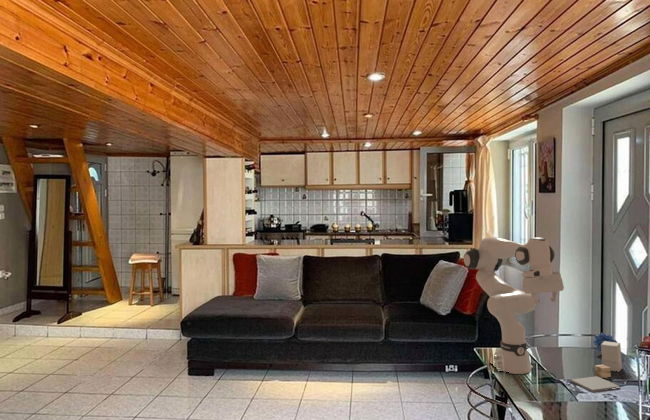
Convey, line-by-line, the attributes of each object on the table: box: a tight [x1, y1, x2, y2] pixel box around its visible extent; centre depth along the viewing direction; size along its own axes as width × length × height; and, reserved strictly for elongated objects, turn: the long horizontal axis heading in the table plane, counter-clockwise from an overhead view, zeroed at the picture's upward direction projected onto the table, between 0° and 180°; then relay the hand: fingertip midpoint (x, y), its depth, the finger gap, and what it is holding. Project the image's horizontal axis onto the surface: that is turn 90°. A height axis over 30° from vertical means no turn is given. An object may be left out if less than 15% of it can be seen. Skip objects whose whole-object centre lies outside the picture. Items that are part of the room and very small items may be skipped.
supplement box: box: [600, 341, 623, 373], centre depth 238 cm, size 7×7×13 cm
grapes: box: [593, 332, 618, 352], centre depth 259 cm, size 12×7×12 cm, turn 61°
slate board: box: [570, 376, 621, 393], centre depth 219 cm, size 14×14×1 cm
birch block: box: [594, 364, 612, 379], centre depth 228 cm, size 4×4×5 cm
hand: (545, 302), depth 221 cm, fingers open, 8 cm apart
